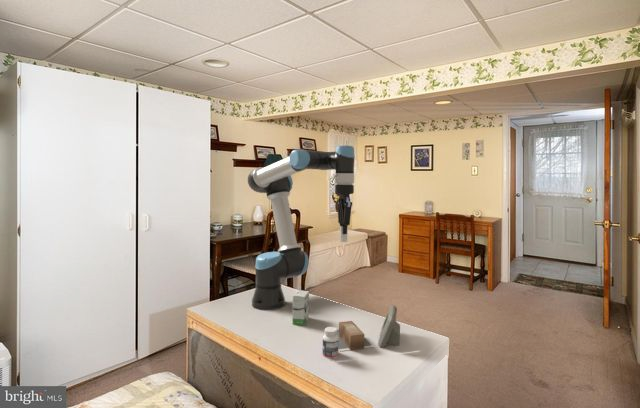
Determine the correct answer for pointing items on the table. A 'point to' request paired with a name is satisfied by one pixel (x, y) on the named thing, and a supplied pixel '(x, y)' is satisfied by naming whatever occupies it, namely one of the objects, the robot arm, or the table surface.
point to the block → (351, 335)
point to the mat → (343, 347)
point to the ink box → (300, 307)
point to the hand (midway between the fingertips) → (343, 241)
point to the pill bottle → (330, 343)
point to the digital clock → (390, 329)
